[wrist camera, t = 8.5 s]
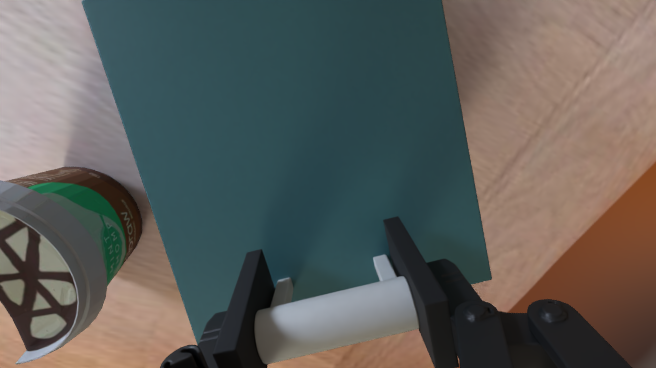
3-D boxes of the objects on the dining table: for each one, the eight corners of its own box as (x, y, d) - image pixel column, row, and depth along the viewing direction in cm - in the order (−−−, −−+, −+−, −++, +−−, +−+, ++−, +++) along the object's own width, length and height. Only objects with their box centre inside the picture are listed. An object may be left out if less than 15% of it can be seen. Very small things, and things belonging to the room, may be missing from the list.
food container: (172, 273, 32) (115, 358, 23) (104, 281, 32) (19, 371, 23) (133, 140, 29) (45, 176, 19) (56, 149, 28) (-71, 190, 19)
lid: (485, 273, 19) (561, 343, 13) (203, 340, 20) (149, 438, 14) (420, -81, 16) (479, -204, 10) (91, 5, 17) (-42, -63, 11)
